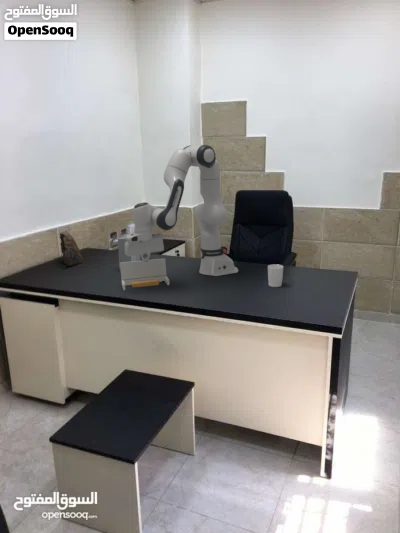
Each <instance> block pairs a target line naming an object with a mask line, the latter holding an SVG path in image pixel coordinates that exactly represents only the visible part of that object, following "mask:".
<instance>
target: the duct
mask: <svg viewBox="0 0 400 533" xmlns="http://www.w3.org/2000/svg"><path fill="white" fill-rule="evenodd" d="M149 280H159V283H161V282H162V281H164V283H165V284H166V285H167V286H170V279H169V277H168V276H167V275H163V276H153V277H144V278H134V279H124V280H121V286H122V290H123V291H126V287H127V286H132V282H139V281H149Z"/></svg>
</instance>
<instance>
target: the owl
mask: <svg viewBox="0 0 400 533" xmlns="http://www.w3.org/2000/svg"><path fill="white" fill-rule="evenodd" d="M59 239H60V249H61V251H60V252H61V253H62V258H63V265H65V266H73V265H76V264H81V263H83V262H84V259H83V257H82V256H83V255H82V253H81V251H80V249H79V246H78V244H77V242H76V240H75V239H74V236H72V234H70V232H69V231H68V230H65V231H60V233H59Z"/></svg>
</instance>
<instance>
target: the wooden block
mask: <svg viewBox="0 0 400 533" xmlns="http://www.w3.org/2000/svg"><path fill="white" fill-rule="evenodd" d="M159 285H160V282H159V280H149V281H139V282H132V285H131V287H132V288H133V289H134V288H142V287H151V286H159Z"/></svg>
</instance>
